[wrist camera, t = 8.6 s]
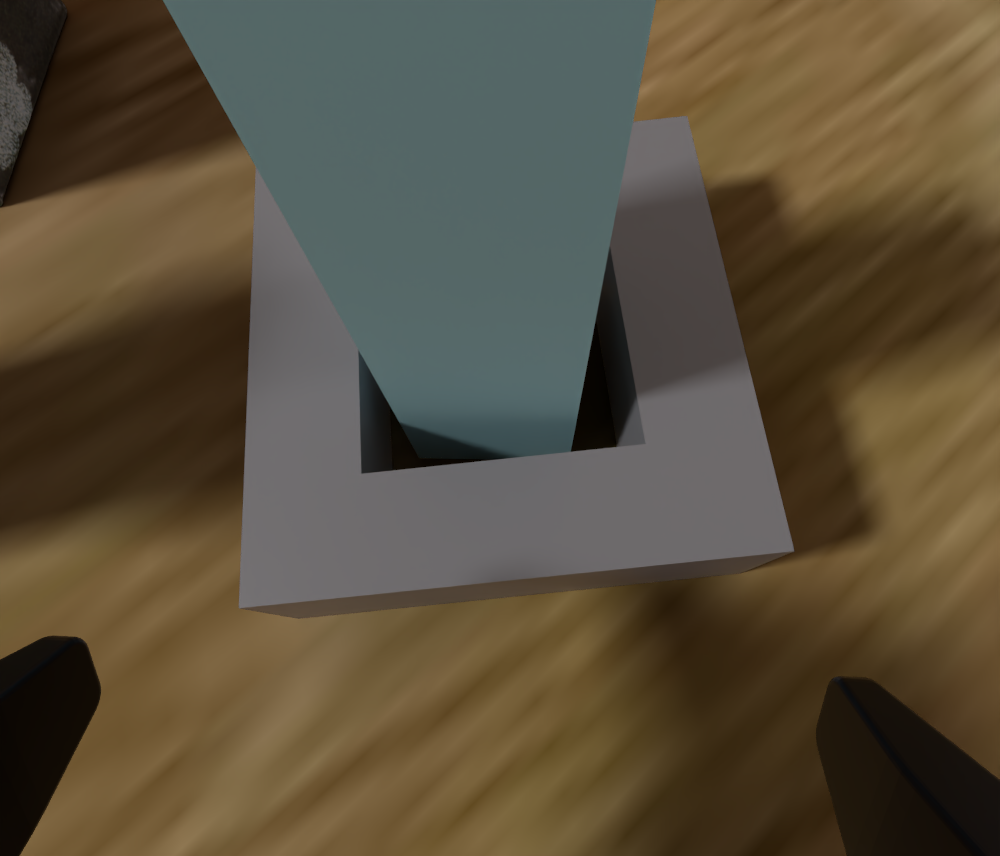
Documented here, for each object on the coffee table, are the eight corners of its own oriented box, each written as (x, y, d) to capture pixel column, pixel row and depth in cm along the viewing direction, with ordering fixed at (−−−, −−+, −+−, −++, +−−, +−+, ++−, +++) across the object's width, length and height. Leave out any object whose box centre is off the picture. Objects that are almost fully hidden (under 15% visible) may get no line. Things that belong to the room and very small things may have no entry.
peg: (569, 460, 17) (660, -24, 5) (419, 458, 17) (156, -12, 5) (568, 326, 19) (639, -317, 6) (429, 325, 19) (237, -297, 7)
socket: (740, 573, 16) (794, 550, 13) (298, 618, 16) (238, 608, 13) (661, 206, 20) (687, 115, 16) (301, 245, 20) (256, 163, 17)
